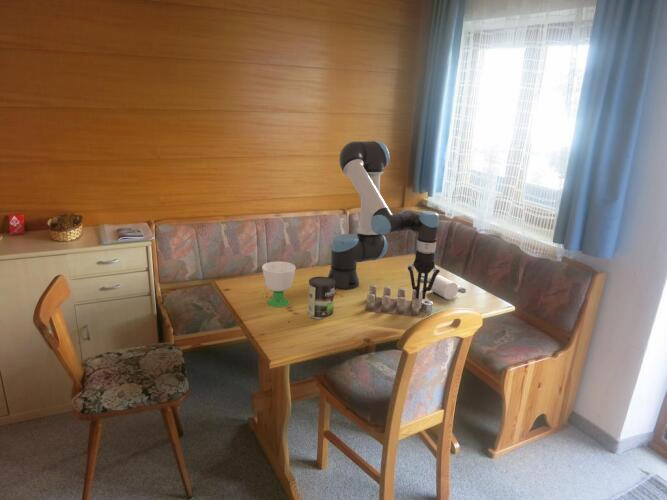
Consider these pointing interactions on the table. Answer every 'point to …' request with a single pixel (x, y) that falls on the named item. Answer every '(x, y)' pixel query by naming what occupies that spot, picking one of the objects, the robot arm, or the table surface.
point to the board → (392, 303)
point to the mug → (445, 287)
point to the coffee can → (321, 297)
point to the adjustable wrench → (430, 279)
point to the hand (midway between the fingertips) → (419, 305)
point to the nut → (426, 306)
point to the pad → (434, 311)
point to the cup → (278, 281)
